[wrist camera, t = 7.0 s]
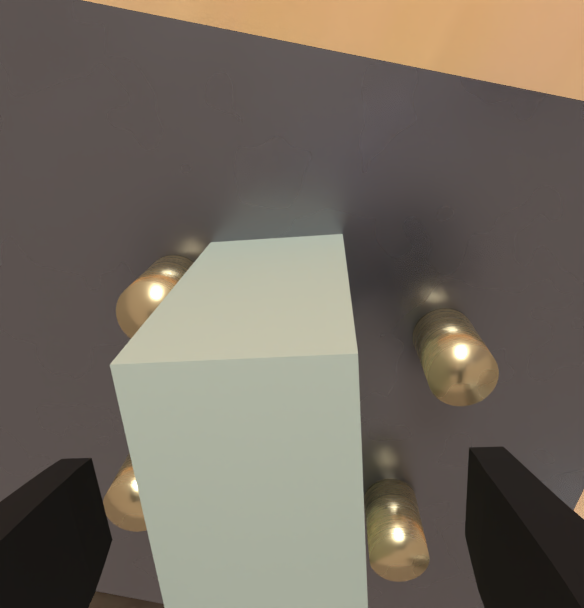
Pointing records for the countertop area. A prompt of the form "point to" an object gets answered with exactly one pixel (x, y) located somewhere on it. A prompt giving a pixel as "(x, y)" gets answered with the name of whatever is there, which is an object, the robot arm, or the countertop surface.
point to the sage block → (251, 429)
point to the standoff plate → (280, 224)
